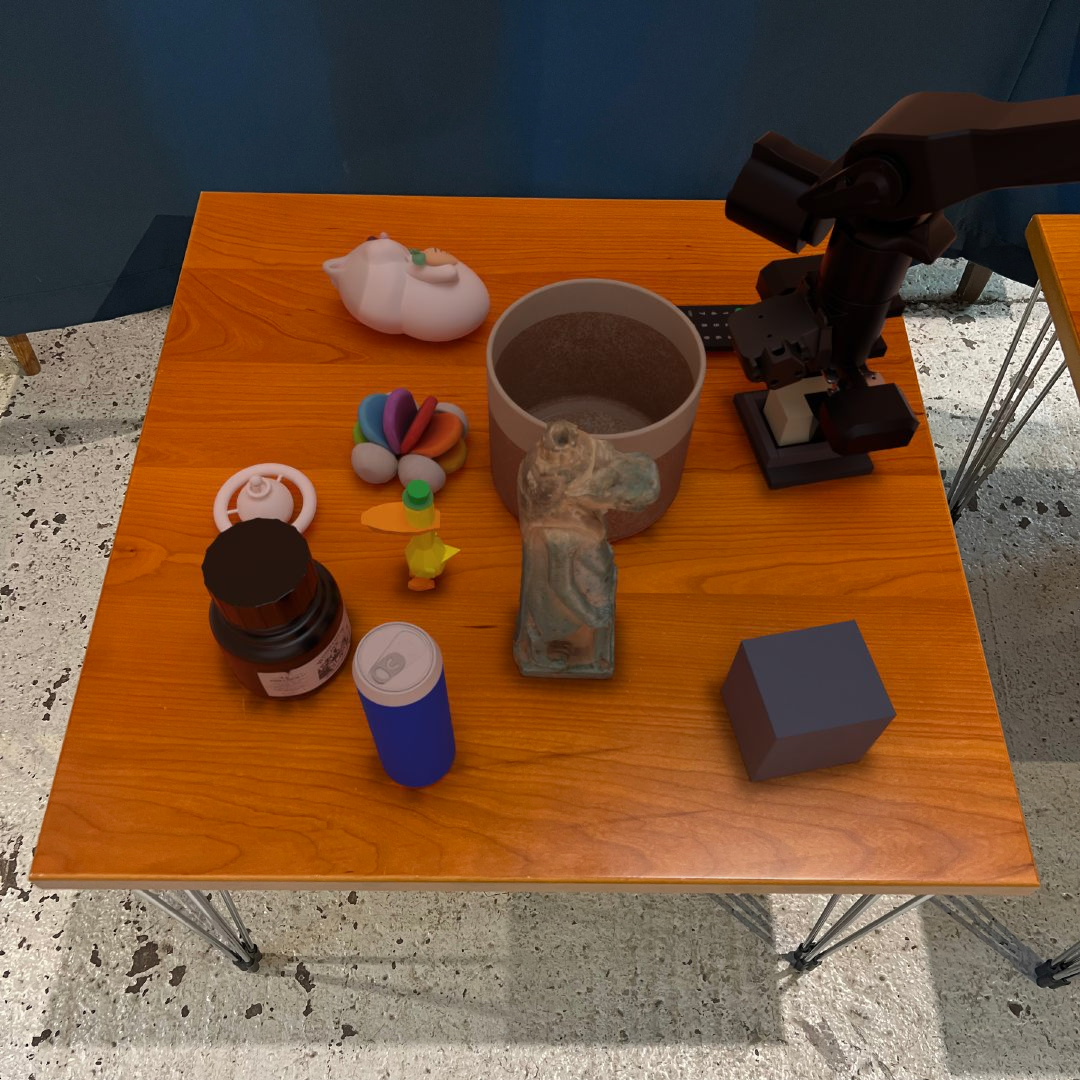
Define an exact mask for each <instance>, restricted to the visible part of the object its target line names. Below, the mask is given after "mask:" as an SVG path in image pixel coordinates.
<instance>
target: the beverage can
mask: <svg viewBox="0 0 1080 1080" xmlns="http://www.w3.org/2000/svg"><path fill="white" fill-rule="evenodd" d="M351 673H352V679H353V682H354V685H355V688H356V691H357V694H358V697H359V700H360V703H361V706H362V709H363V711H364V715H365V718H366V722H367V724H368V727H369V729H370V733H371V735H372V739H373V742H374V745H375V747H376V751H377V754H378V756H379V760H380V763H381V766H382V768H383V770H384V772H385V773H386V775H387V776H388V777H389V778H390V779H391V780H392V781H394V782H395V783H397V784H399V785H401V786H404V787H407V788H424V787H428V786H431V785H433V784H435V783H437V782H439V781H440V780H441V779H442V778H444V777H445V776H446V774H447V773H448V772H449V771H450V769H451V767H452V766H453V764H454V761H455V758H456V741H455V740H456V739H455V733H454V727H453V720H452V714H451V707H450V700H449V695H448V687H447V681H446V674H445V668H444V661H443V655H442V652H441V648H440V647H439V645H438V643H437V642H436V640H435V639H434V638H433V637H432V636H431V635H430V634H429V633H428V632H427V631H425V630H424V629H423V628H422V627H420V626H418V625H416V624H413V623H410V622H406V621H390V622H385V623H381V624H380V625H377V626H375V627H373V628H372V629H370V631H368V632H367V633H366V634H365V635H364V636H363V637H362V638H361V640H360V641H359V643H358V645H357V647H356V650H355V653H354V656H353V659H352V663H351Z"/></svg>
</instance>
